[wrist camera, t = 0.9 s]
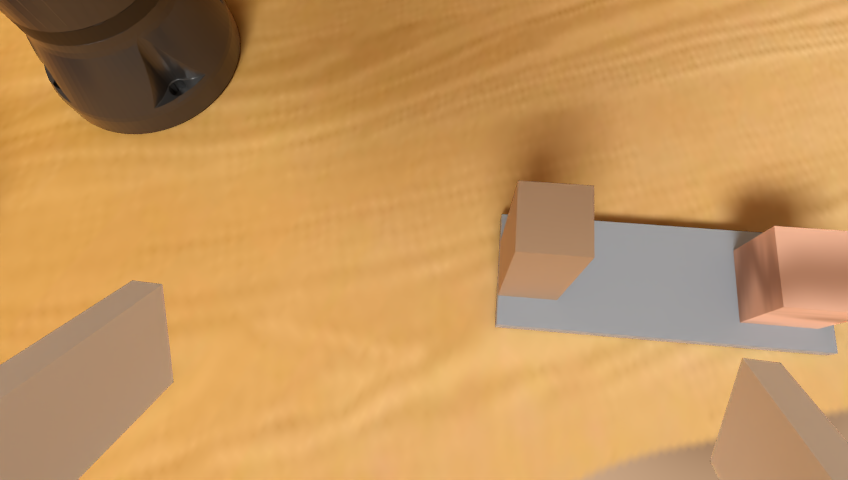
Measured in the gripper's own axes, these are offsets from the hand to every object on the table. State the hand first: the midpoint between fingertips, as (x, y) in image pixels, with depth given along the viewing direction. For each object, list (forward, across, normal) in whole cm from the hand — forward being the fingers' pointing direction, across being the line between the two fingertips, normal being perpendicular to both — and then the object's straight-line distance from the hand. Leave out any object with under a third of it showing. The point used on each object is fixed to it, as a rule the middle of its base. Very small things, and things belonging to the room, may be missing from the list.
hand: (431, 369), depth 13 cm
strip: (+26, +13, -8) cm, 30 cm away
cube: (+26, +21, -7) cm, 34 cm away
